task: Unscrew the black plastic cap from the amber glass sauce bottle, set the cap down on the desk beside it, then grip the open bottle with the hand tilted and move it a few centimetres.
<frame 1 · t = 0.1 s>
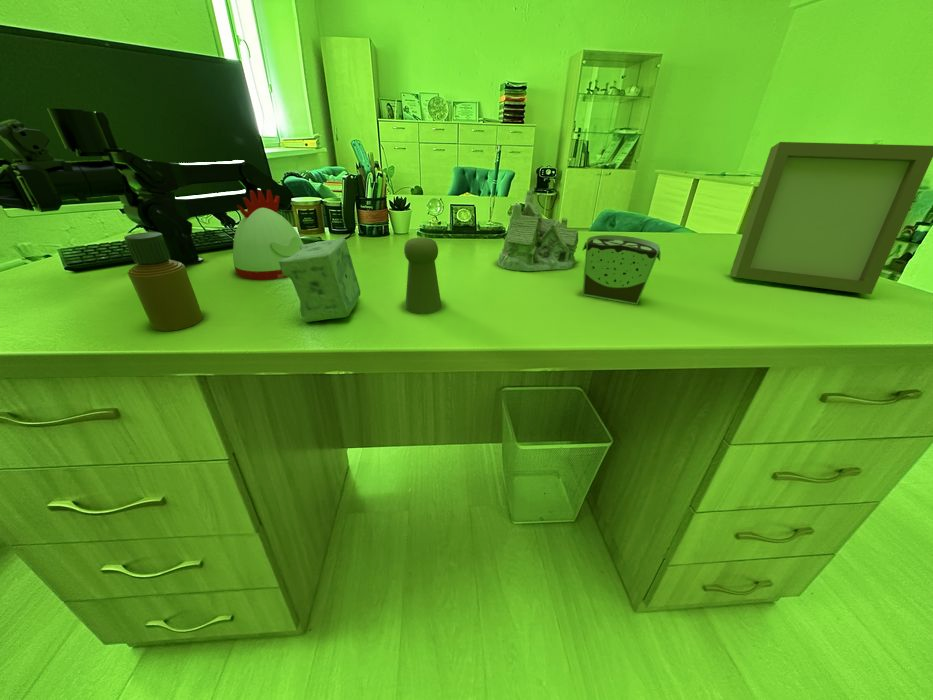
food container: (610, 295, 68), on the table
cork: (423, 307, 61), on the table
cap: (144, 238, 48), point 12 cm above the table, screwed on, not yet turned
incense holder: (330, 312, 59), on the table
kitchen timer: (275, 269, 76), on the table
photo frame: (784, 279, 78), on the table
ceramic cottage: (535, 263, 84), on the table
bottle: (178, 321, 54), on the table
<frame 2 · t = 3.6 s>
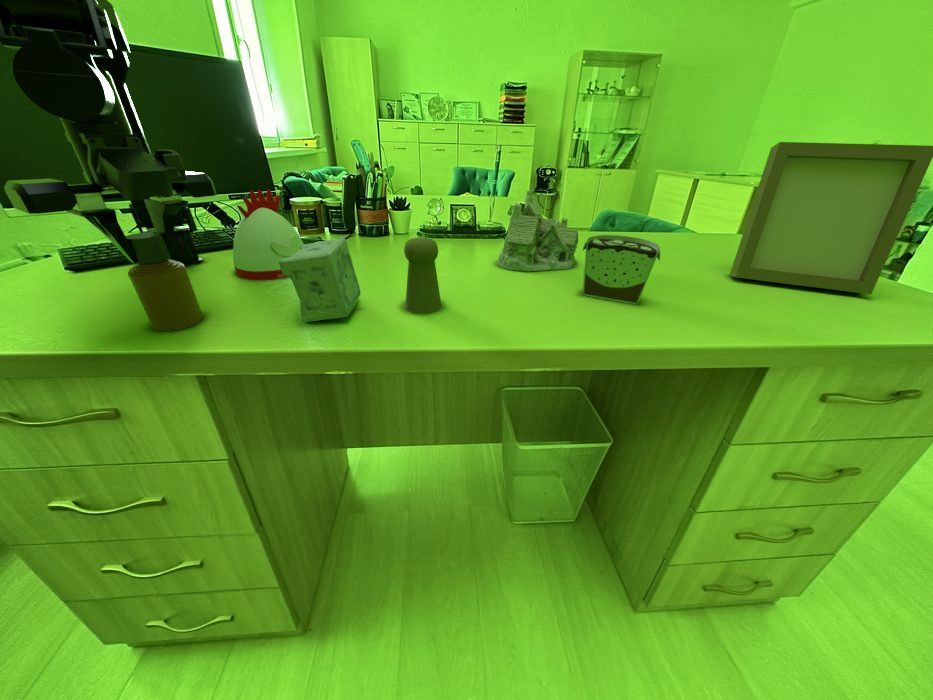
hand: (152, 259, 49), 9 cm above the table, tool pointing down, fingers closed on cap, 4 cm apart
cap: (144, 238, 48), point 12 cm above the table, screwed on, not yet turned, touching gripper
everything else where it was.
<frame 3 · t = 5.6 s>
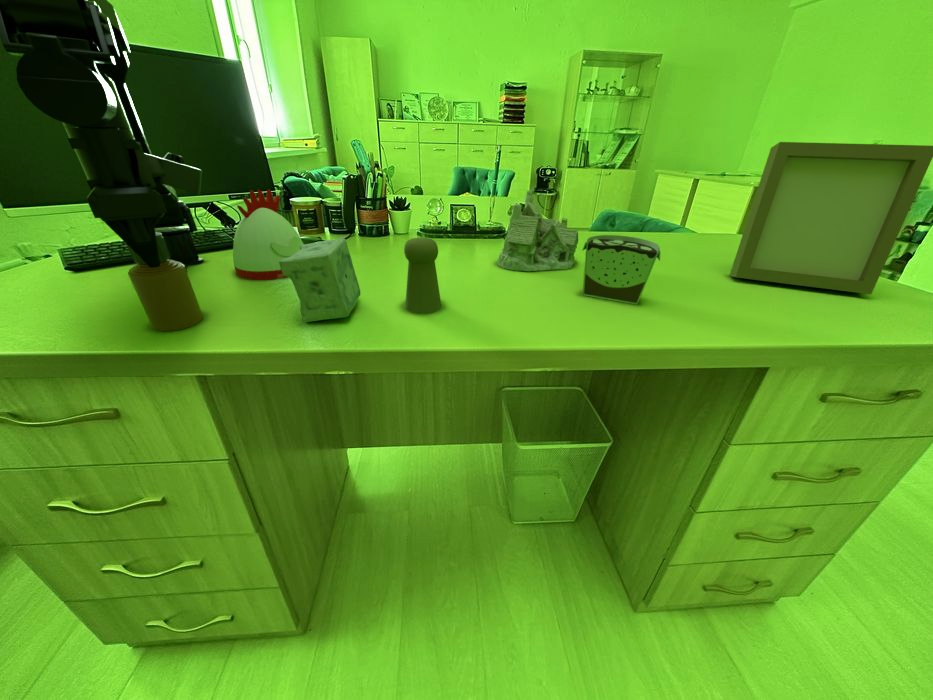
hand: (154, 263, 50), 9 cm above the table, tool pointing down, fingers closed on cap, 4 cm apart
cap: (144, 237, 48), point 12 cm above the table, turned 71° so far, risen 0.1 cm, still on its thread, touching gripper
bottle: (178, 321, 54), on the table, touching gripper
everything else where it was.
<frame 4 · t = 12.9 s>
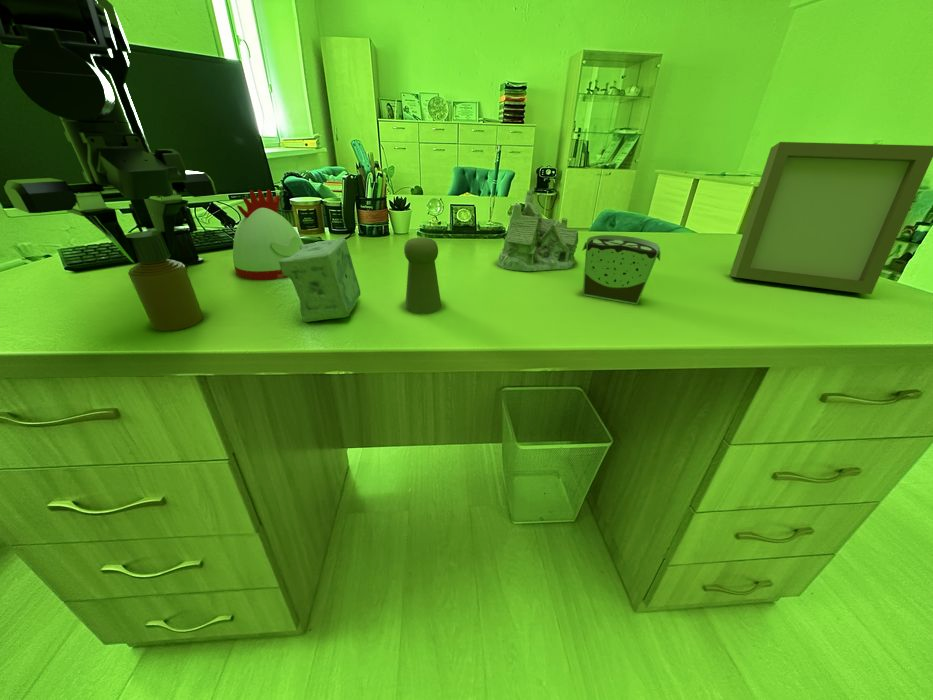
hand: (152, 258, 49), 9 cm above the table, tool pointing down, fingers closed on cap, 4 cm apart
cap: (144, 237, 48), point 12 cm above the table, turned 142° so far, risen 0.1 cm, still on its thread, touching gripper
bottle: (178, 321, 54), on the table
everything else where it was.
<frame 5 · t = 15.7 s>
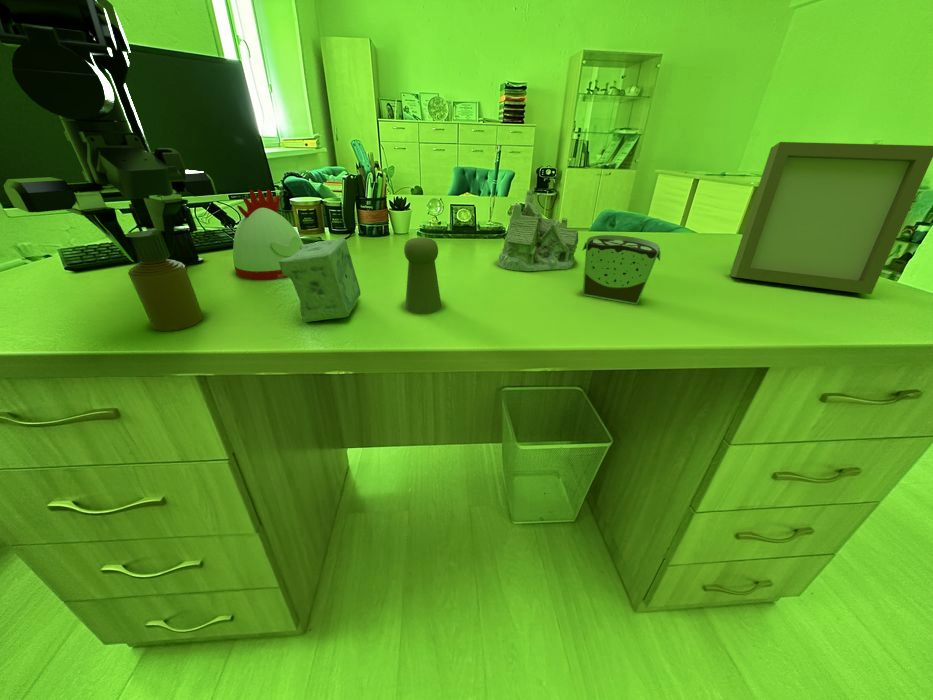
hand: (152, 258, 49), 9 cm above the table, tool pointing down, fingers closed on cap, 4 cm apart
cap: (143, 236, 48), point 12 cm above the table, turned 213° so far, risen 0.2 cm, still on its thread, touching gripper
everything else where it was.
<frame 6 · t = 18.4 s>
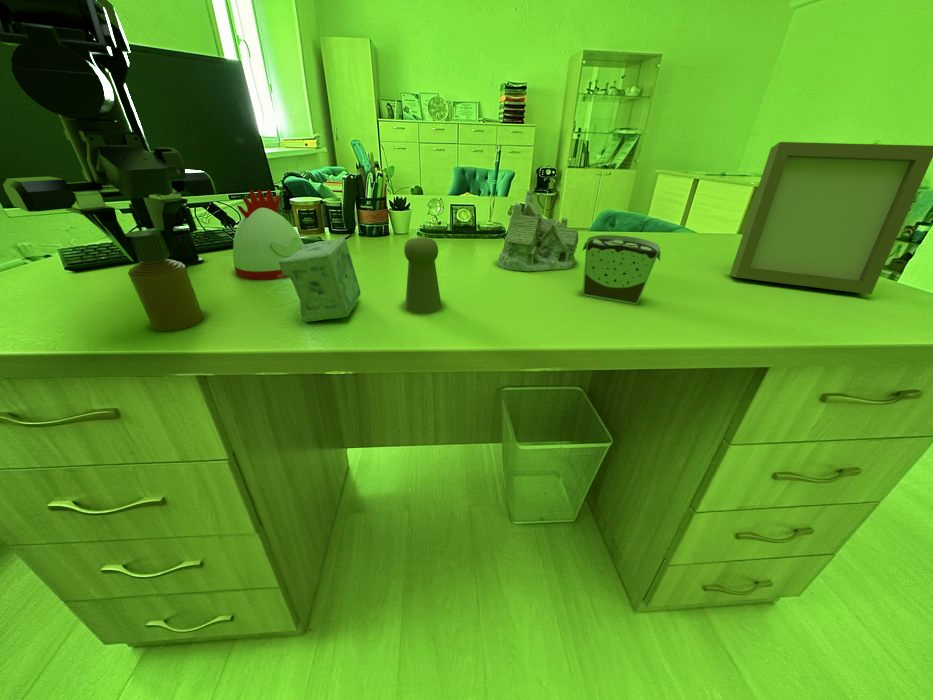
hand: (152, 257, 49), 10 cm above the table, tool pointing down, fingers closed on cap, 4 cm apart
cap: (143, 235, 48), point 12 cm above the table, turned 285° so far, risen 0.3 cm, still on its thread, touching gripper
everything else where it was.
when the fingers open (1 cm above the table, at t = 27.3 s): cap drops 1 cm, point 3 cm above the table.
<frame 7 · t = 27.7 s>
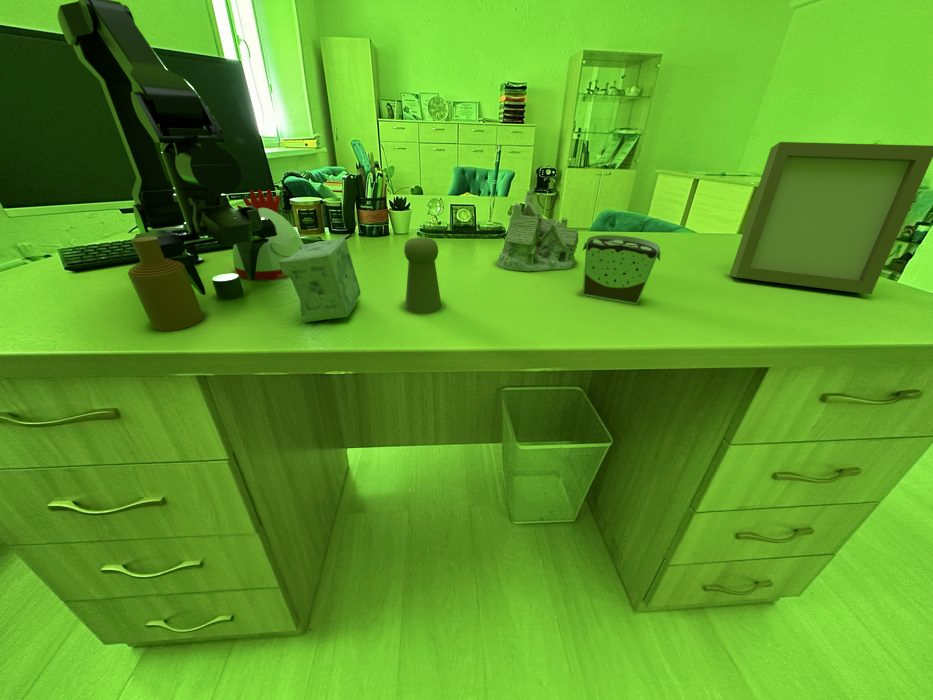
hand: (228, 286, 63), 1 cm above the table, tool pointing down, fingers open, 8 cm apart
cap: (226, 279, 62), point 3 cm above the table, off its thread
bottle: (178, 321, 54), on the table, touching gripper
everything else where it was.
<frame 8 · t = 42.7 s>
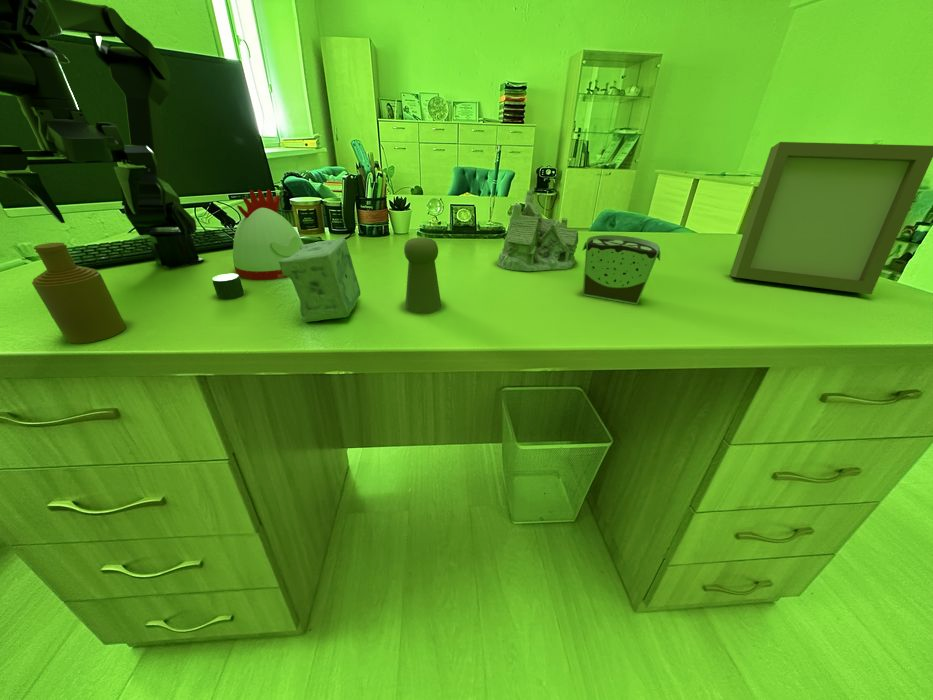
hand: (101, 218, 58), 12 cm above the table, tool pointing down, fingers open, 9 cm apart
bottle: (97, 332, 51), on the table
everything else where it was.
at the end: cap came off its thread; cap point 2.8 cm above the table; bottle 0.3 cm from the target spot, on the table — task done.
